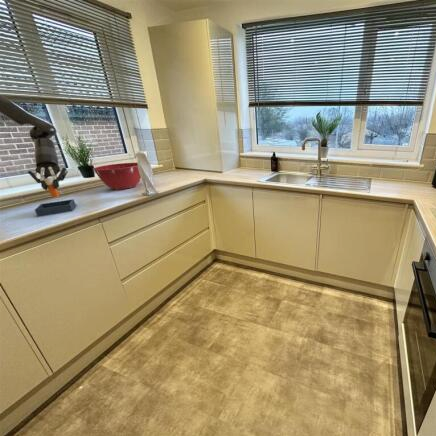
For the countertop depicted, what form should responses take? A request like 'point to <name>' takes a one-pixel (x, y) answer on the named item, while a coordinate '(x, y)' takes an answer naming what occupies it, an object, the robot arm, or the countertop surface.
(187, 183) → the countertop surface
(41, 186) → the robot arm
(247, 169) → the countertop surface
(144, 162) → the white statue
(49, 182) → the glue stick
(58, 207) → the tote
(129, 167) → the mixing bowl
